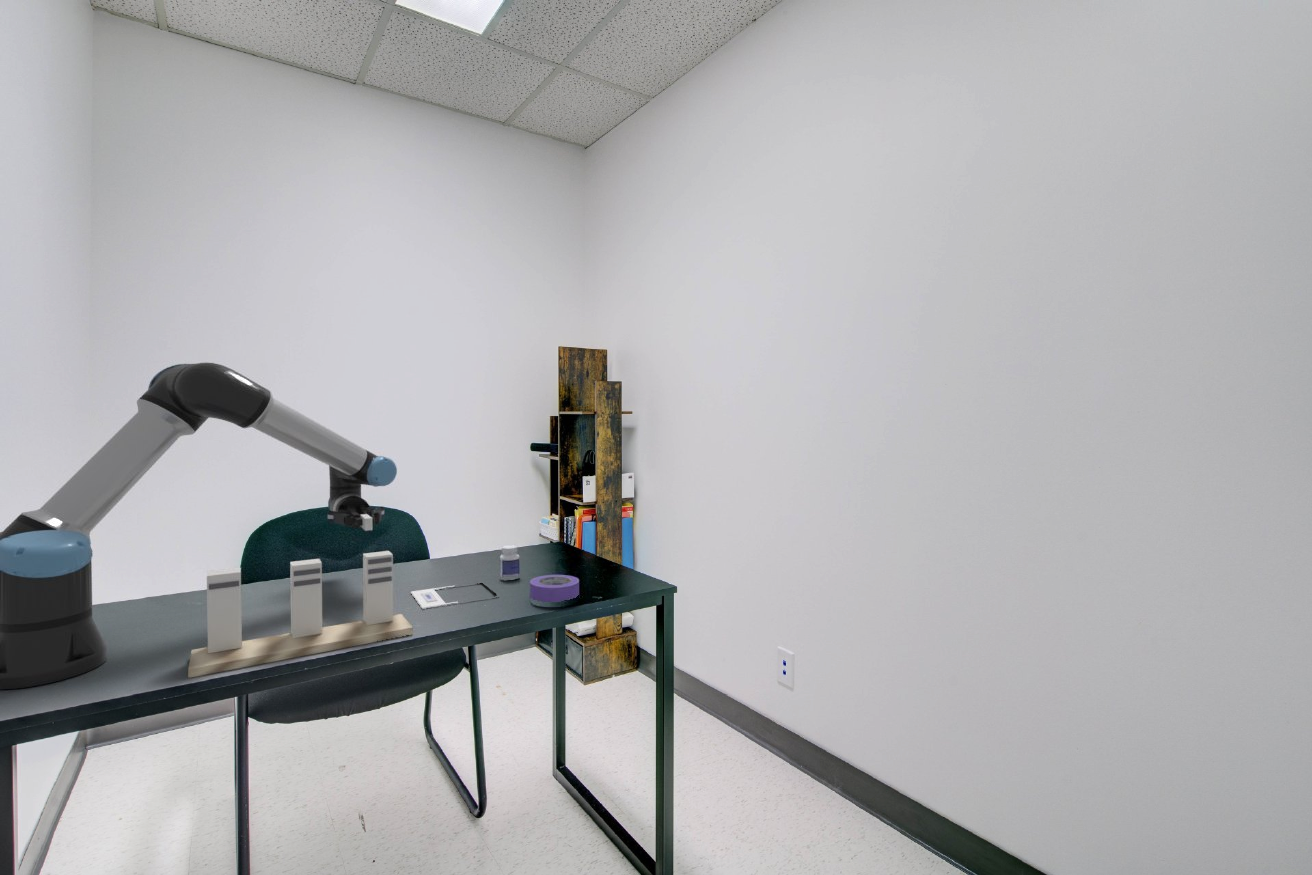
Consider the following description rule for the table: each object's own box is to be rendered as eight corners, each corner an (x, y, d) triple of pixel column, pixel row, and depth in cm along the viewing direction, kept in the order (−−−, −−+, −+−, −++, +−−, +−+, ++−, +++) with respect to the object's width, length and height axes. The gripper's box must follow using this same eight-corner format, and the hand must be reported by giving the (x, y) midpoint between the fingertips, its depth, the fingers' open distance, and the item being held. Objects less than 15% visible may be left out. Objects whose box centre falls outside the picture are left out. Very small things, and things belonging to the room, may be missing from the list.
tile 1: (207, 653, 107) (206, 576, 107) (208, 646, 110) (207, 571, 110) (241, 647, 110) (240, 572, 109) (241, 640, 113) (240, 567, 113)
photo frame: (410, 590, 150) (482, 580, 159) (410, 595, 150) (482, 585, 159) (422, 606, 137) (499, 595, 147) (422, 611, 137) (499, 599, 147)
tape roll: (569, 591, 153) (570, 572, 153) (586, 604, 143) (586, 583, 143) (524, 597, 148) (524, 577, 148) (537, 611, 138) (537, 589, 137)
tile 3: (367, 625, 122) (366, 557, 122) (363, 619, 125) (362, 553, 125) (393, 621, 125) (393, 554, 124) (389, 615, 128) (388, 550, 128)
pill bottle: (523, 579, 164) (523, 546, 164) (506, 582, 160) (506, 549, 160) (512, 575, 168) (512, 543, 167) (495, 579, 164) (495, 546, 163)
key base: (188, 677, 101) (188, 669, 101) (191, 657, 109) (191, 649, 109) (412, 634, 122) (412, 627, 122) (401, 620, 130) (401, 613, 130)
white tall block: (292, 638, 114) (291, 566, 114) (291, 632, 118) (290, 561, 117) (322, 633, 117) (321, 562, 117) (319, 627, 121) (319, 558, 120)
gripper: (379, 521, 157) (400, 537, 138) (323, 527, 150) (336, 544, 130) (379, 493, 157) (399, 505, 138) (322, 497, 149) (335, 510, 130)
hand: (368, 524), depth 134 cm, fingers closed
